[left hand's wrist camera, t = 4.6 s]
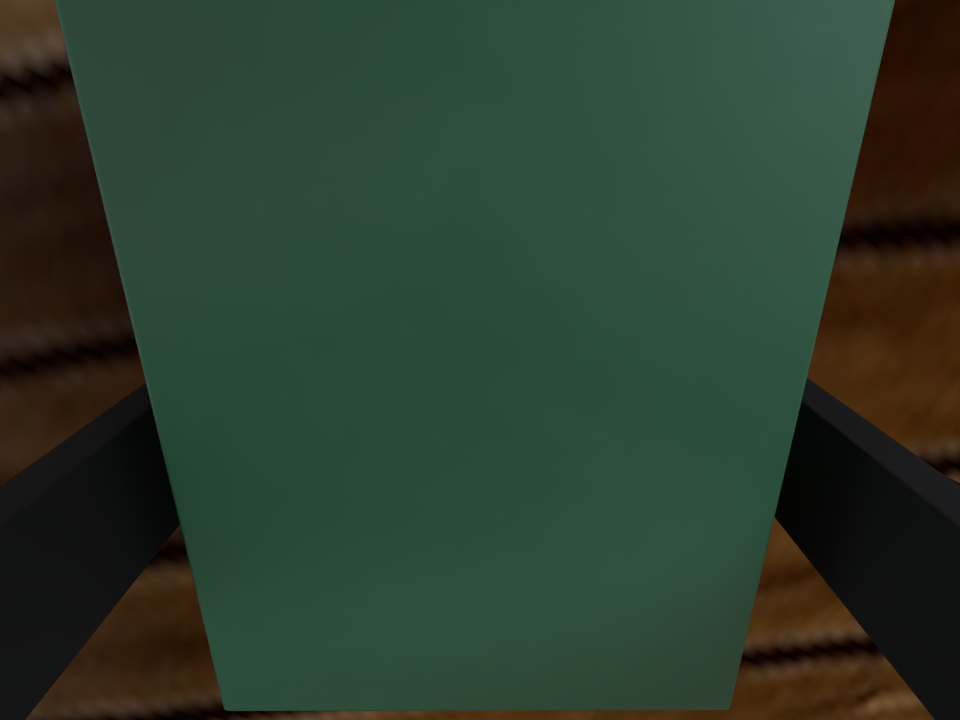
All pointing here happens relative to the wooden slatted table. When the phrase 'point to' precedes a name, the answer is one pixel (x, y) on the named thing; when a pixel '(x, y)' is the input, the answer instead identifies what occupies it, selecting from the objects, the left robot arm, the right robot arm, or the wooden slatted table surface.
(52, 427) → the wooden slatted table surface
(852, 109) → the cabinet
